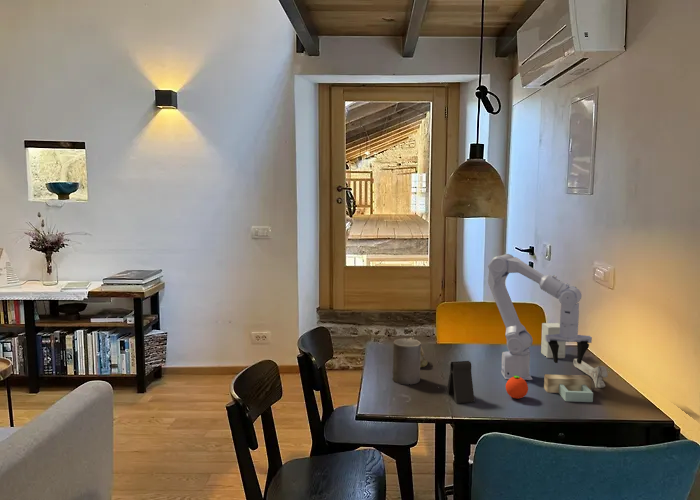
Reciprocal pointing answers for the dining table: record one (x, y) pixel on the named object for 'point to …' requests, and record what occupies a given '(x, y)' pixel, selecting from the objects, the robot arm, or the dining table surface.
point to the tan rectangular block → (566, 382)
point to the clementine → (516, 387)
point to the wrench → (593, 372)
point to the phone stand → (460, 382)
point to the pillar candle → (406, 361)
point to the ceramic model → (422, 360)
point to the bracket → (576, 394)
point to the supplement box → (545, 347)
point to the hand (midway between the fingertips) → (567, 362)
